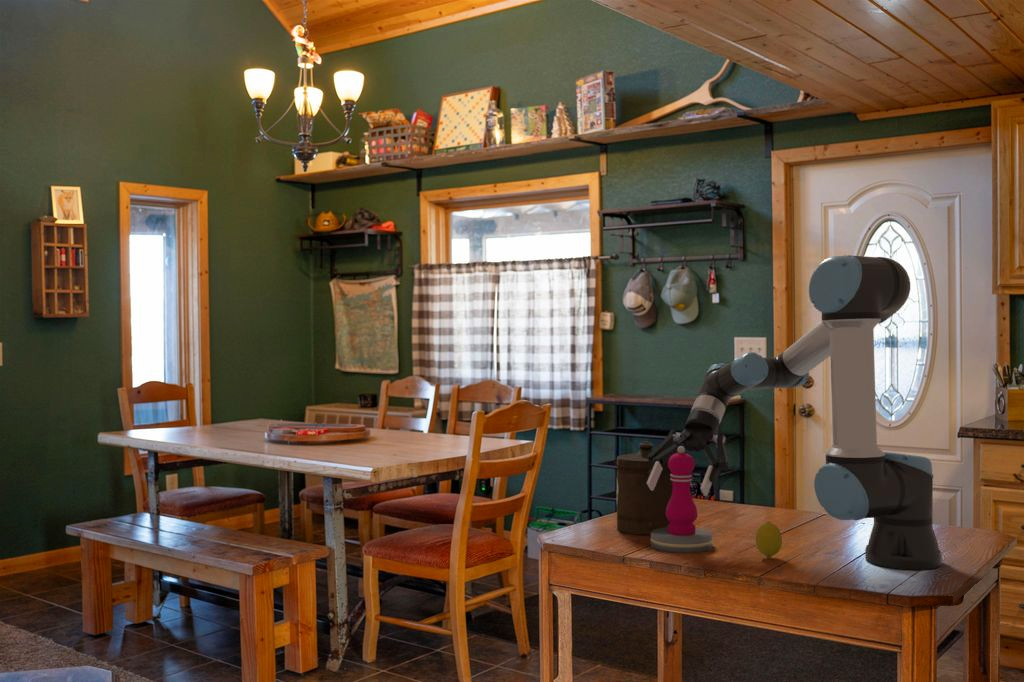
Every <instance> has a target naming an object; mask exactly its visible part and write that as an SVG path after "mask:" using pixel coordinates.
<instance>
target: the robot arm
mask: <svg viewBox="0 0 1024 682" xmlns="http://www.w3.org/2000/svg"><path fill="white" fill-rule="evenodd" d="M910 292H911V279H910V276H909V274H908V272H907V270H906V269H905V267H904V266H902V264H900V263H899V262H898V261H896V260H894V259H892V258H890V257H884V256H864V255H863V256H862V255H851V254H849V255H845V254H844V255H837V256H835V255H834V256H831V257H828V258H826V259H824V260H822V261H821V262H820V263H819V264H818V266H817V267H816V268H815V269H814V270H813V273H812V274H811V276H810V280H809V284H808V295H809V300H810V302H811V304H813V308H814V309H816V310H817V311H818V312H821V321H819V323H817V324H815V326H814V327H812V328H811V329H810V330H808V331H807V332H806V333H805V334H803V335H802V336H801V337H800V338H799V339H797V340H796V341H795V342H793V344H791V345H790V346H789V347H788V348H786V349H785V350H784V351H782V352H781V353H780V354H778V355H777V356H774V357H763V356H762V355H761V354H758V353H757V352H755V351H754V352H752V351H751V352H747V353H744V354H742V355H739V356H738V357H736V358H735V359H734V360H732V361H731V362H729V363H726V364H725V363H722V362H721V363H715V364H712V365H711V366H710V367H708V370H707V371H706V373H705V375H704V376H703V380H702V384H701V386H700V389H699V391H698V393H697V395H696V398H695V401H694V402H693V405H692V407H691V410H690V413H689V414H688V417H687V419H686V422H685V425H684V429H683V430H682V432H678V431H676V430H675V429H670V432H669V433H668V434H667V436H666V437H665V438H663V440H662V441H661V442H660V443H659V444H658V445H657V446H656V447H655V448H654V449H652V452H651V453H650V454H649V455H648V456H647V459H648V460H649V462H650V464H651V467H650V469H649V474H650V476H649V479H648V481H647V485H648V487H649V488H650V490H654V488H655V486H656V483H657V481H658V479H659V476H660V474H661V471H662V469H663V468H662V465H663V464H665V463H666V462H668V461H669V459H670V457H671V456H672V455H673V454H676V453H678V451H677V449H678V447H680V446H682V444H683V447H684V448H685V452H687V451H688V452H697V453H700V452H701V451H704V453H705V454H706V456H707V457H708V460H709V461H710V463H711V465H710V464H709V465H708V467H707V470H706V472H705V475H704V478H703V480H702V483H701V485H700V490H701V493H702V494H703V496H705V497H708V494H709V493H710V490H711V487H712V484H713V483H715V484H716V483H717V480H718V477H719V476H720V475H719V474H720V473H721V472H723V471H725V472H727V471H728V472H729V470H730V465H729V460H728V455H727V449H726V443H727V439H726V436H725V435H724V432H721V431H720V432H718V430H719V427H720V424H721V422H722V419H723V417H724V414H725V412H726V410H727V406H728V404H729V401H731V399H733V398H734V397H736V396H738V395H740V394H742V393H744V392H746V391H748V390H749V391H751V390H765V389H767V390H768V389H793V388H798V387H802V386H803V385H805V383H807V380H808V378H809V374H810V372H811V371H813V370H814V368H816V367H817V366H819V365H820V364H821V363H823V362H824V361H826V359H828V358H830V383H831V384H830V386H831V389H830V391H831V392H830V393H831V419H832V420H831V421H832V422H831V424H832V425H831V426H832V428H831V429H832V446H830V448H829V449H828V450H826V452H825V464H824V465H823V466H821V467H820V468H818V472H816V474H815V476H814V482H813V485H814V486H813V487H814V493H815V496H816V499H817V501H818V503H819V505H820V506H821V507H822V508H823V509H824V511H825V512H826V513H827V514H828V515H829V516H830V517H833V518H834V519H836V520H839V521H855V522H856V521H860V520H863V519H871V518H873V526H872V528H871V531H870V535H869V540H868V544H867V545H866V546H865V550H864V551H865V553H864V555H865V556H864V557H865V560H866V561H867V562H868V563H870V564H873V565H876V566H879V567H885V568H891V569H899V570H911V571H912V570H917V571H919V570H921V571H922V570H931V569H936V568H939V567H941V566H942V563H943V561H942V558H943V557H942V555H943V554H942V552H941V549H939V543H938V539H937V536H936V534H935V531H934V527H933V523H934V522H933V505H934V504H933V498H934V497H933V488H934V487H933V484H934V483H933V479H934V474H933V464H932V461H931V460H930V459H929V458H928V457H926V456H923V455H922V456H919V455H913V454H905V453H896V452H888V451H887V452H885V451H883V450H882V449H881V448H880V447H879V446H878V445H877V444H878V443H877V442H878V441H877V440H878V439H877V438H878V436H877V434H878V433H877V408H876V407H877V405H876V403H877V401H876V399H877V398H876V376H875V375H876V373H875V372H876V369H875V368H876V367H875V341H874V340H875V335H874V334H875V333H874V332H875V331H874V329H875V328H876V326H877V325H878V324H882V323H884V322H886V321H887V320H888V319H890V318H891V317H892V316H893V315H895V314H896V313H898V311H900V309H901V308H902V307H903V306H904V305H905V304H906V303H907V300H908V298H909V296H910ZM717 432H718V434H717ZM714 442H715V444H716V445H717V449H718V455H719V460H720V462H718V460H717V459H716V457H715V455H714V453H713V452H712V450H711V449H710V448H711V447H710V446H711V445H712V444H713V443H714ZM659 460H660V461H659Z"/></svg>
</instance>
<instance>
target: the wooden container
mask: <svg viewBox="0 0 1024 682" xmlns="http://www.w3.org/2000/svg"><path fill="white" fill-rule="evenodd" d="M653 448H654V445H653V443H652V442H651V441H649V440H643V441H641V442H639V451H638V452H637V453H626V454H620V455H617V457H616V528H617V529H616V530H618V531H620V532H622V533H626V534H631V535H642V536H651V531H652V530H654V529H658V528H664V527H668V525H669V524H670V521H669V520H668V519H667V517H666V509H667V505H668V503H669V501H670V499H671V496H672V492H673V483H672V481H671V480H670V478H671V476H670V475H671V474H672V472H671V470H670V469H669V467H668V462H666V463H665V464H663V465H662V468H663V469H662V471H661V474H660V476H659V479H658V481H657V483H656V486H655V488H654V490H650V488H649V487H648V485H647V481H648V479H649V476H650V474H649V469H650V467H651V464H650V462H649V460H648V459H647V456H648V455H649V454H650V453H651V452H652V451H653ZM659 461H660V460H659Z"/></svg>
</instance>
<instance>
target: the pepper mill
mask: <svg viewBox="0 0 1024 682" xmlns="http://www.w3.org/2000/svg"><path fill="white" fill-rule="evenodd" d="M677 451H678V453H676V454H673V455H672V456H671V457H670V459H669V461H668V467H669V469H670V470H671V472H672V474H671V475H670V476H671V478H670V480H671V481H672V483H673V492H672V496H671V499H670V501H669V503H668V505H667V509H666V517H667V519H668V520H669V521H670V524H669V525H668V533H669V534H673V535H683V536H686V535H693V534H695V528H696V525H695V524H694V522H695V521H696V520H697V518H698V509H697V505H696V503H695V502H694V499H693V497H692V493H691V482H692V481H693V474H692V472H693V471H694V469H695V460H694V458H693V456H692V455H690V454H688V453H686V451H685V448H684V445H683V446H682V445H681V446H680V447H678V449H677Z"/></svg>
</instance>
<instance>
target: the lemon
mask: <svg viewBox="0 0 1024 682" xmlns="http://www.w3.org/2000/svg"><path fill="white" fill-rule="evenodd" d="M780 530H781V529H780V528H779V527H778V526H776V525H775V524H773V522H772V523H771V521H766V523H762V524H761V525H760V526H758V528H757V530H756V534H755V546H756V549H757V550H758V551H759V553H761V554H762V555H764V556H765V558H767V559H771V558H772V557H773V556H774V555H777V554H778V553H779V552H780V550H781V548H782V544H783V541H782V539H783V538H782V537H783V536H782V533H781V531H780Z"/></svg>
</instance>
